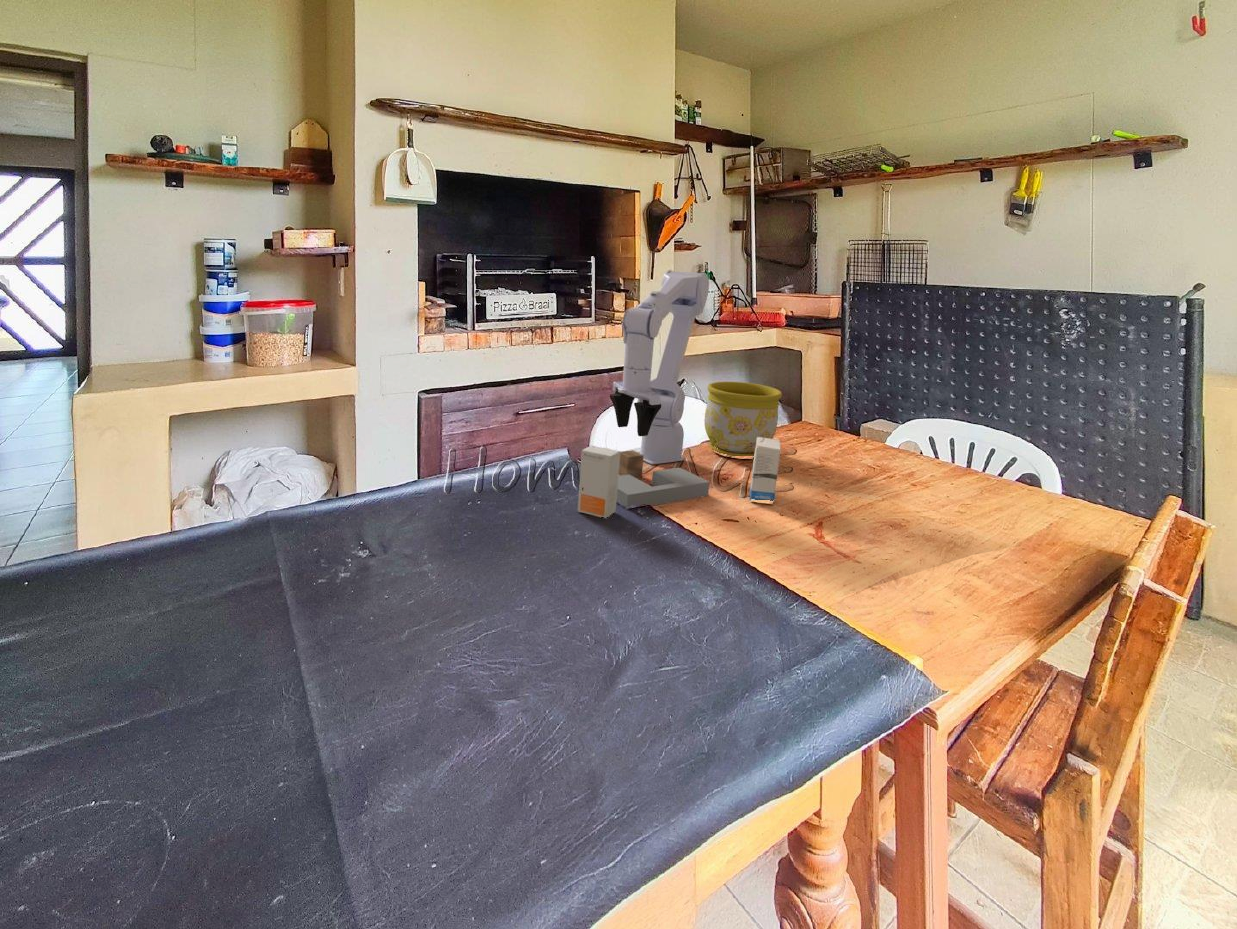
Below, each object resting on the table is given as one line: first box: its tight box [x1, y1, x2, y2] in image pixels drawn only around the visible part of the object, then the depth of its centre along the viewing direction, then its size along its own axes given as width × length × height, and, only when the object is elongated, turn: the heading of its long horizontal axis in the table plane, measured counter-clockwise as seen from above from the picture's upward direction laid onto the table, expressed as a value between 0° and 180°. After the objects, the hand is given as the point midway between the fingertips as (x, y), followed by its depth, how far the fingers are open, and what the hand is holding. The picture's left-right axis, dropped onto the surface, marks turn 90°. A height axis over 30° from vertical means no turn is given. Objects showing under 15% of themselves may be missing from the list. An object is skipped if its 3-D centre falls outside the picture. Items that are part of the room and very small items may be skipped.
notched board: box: [616, 467, 711, 507], centre depth 138 cm, size 20×10×3 cm, turn 123°
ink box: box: [749, 437, 782, 501], centre depth 139 cm, size 9×5×12 cm, turn 168°
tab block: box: [618, 449, 644, 479], centre depth 148 cm, size 4×4×5 cm
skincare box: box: [577, 445, 622, 519], centre depth 124 cm, size 6×4×12 cm
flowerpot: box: [703, 381, 783, 456], centre depth 170 cm, size 18×18×16 cm
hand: (632, 431), depth 146 cm, fingers open, 7 cm apart
